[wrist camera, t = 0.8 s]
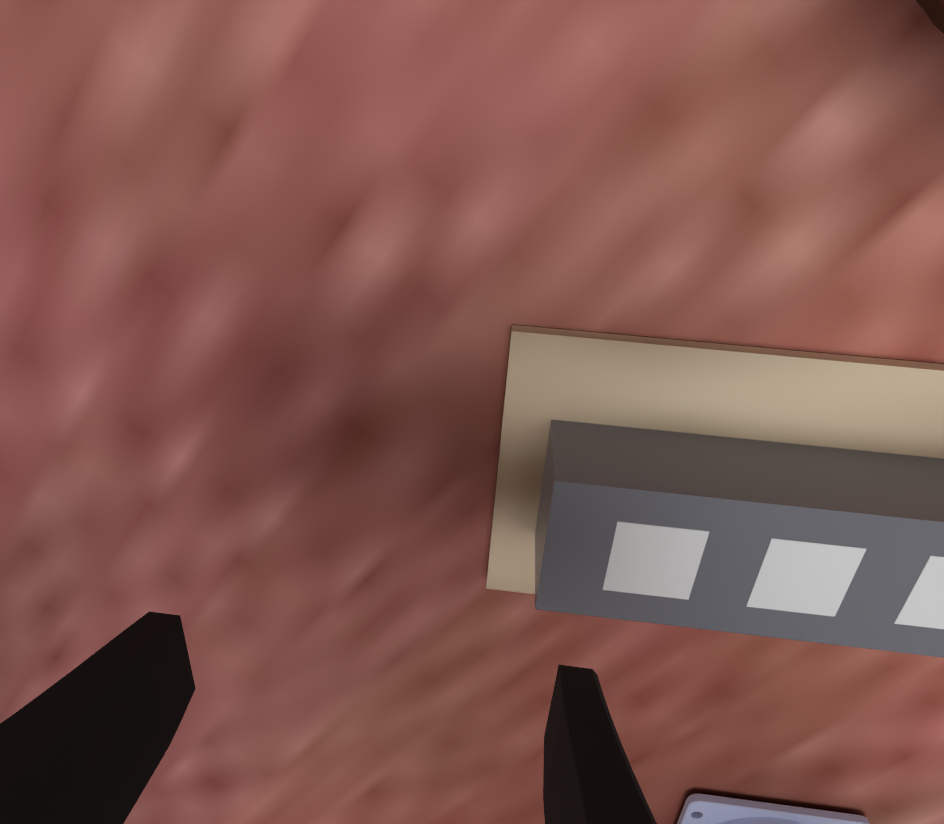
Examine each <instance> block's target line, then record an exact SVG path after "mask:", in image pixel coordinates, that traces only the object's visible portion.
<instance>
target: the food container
mask: <svg viewBox="0 0 944 824" xmlns="http://www.w3.org/2000/svg"><path fill="white" fill-rule="evenodd" d="M917 1H918V3H919V4H920V5H921V7H922V8H923V10H924V11H925V12H926V14H927V15H928V17H929V18H930V19H931V21H932V22H933V24H934V25H935V26H936V27H938V28H939V29H940V30H941V31H942V32H943V33H944V0H917Z"/></svg>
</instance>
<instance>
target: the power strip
mask: <svg viewBox="0 0 944 824" xmlns="http://www.w3.org/2000/svg"><path fill="white" fill-rule="evenodd" d="M535 609H538V610H547V611H555V612H564V613H572V614H581V615H589V616H598V617H606V618H614V619H623V620H631V621H640V622H648V623H657V624H665V625H673V626H682V627H690V628H699V629H707V630H716V631H724V632H733V633H741V634H749V635H758V636H766V637H775V638H783V639H792V640H800V641H808V642H817V643H825V644H834V645H842V646H851V647H859V648H868V649H876V650H884V651H893V652H901V653H910V654H918V655H927V656H935V657H944V459H942V458H932V457H922V456H912V455H902V454H892V453H882V452H872V451H862V450H852V449H842V448H832V447H822V446H812V445H802V444H792V443H782V442H772V441H762V440H752V439H742V438H732V437H722V436H712V435H702V434H692V433H682V432H672V431H662V430H652V429H642V428H632V427H622V426H612V425H602V424H592V423H582V422H572V421H562V420H552V419H551V423H550V430H549V437H548V445H547V452H546V459H545V466H544V473H543V480H542V487H541V494H540V501H539V508H538V515H537V523H536V530H535Z"/></svg>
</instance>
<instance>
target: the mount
mask: <svg viewBox="0 0 944 824" xmlns="http://www.w3.org/2000/svg"><path fill="white" fill-rule="evenodd" d="M551 419H552V420H562V421H572V422H582V423H592V424H602V425H612V426H622V427H632V428H642V429H652V430H662V431H672V432H682V433H692V434H702V435H712V436H722V437H732V438H742V439H752V440H762V441H772V442H782V443H792V444H802V445H812V446H822V447H832V448H842V449H852V450H862V451H872V452H882V453H892V454H902V455H912V456H922V457H932V458H942V459H944V364H937V363H926V362H915V361H904V360H893V359H882V358H871V357H860V356H849V355H838V354H827V353H816V352H805V351H794V350H783V349H773V348H762V347H751V346H740V345H729V344H718V343H707V342H696V341H685V340H674V339H663V338H652V337H641V336H630V335H619V334H608V333H597V332H586V331H575V330H564V329H553V328H542V327H531V326H520V325H512V331H511V341H510V351H509V361H508V371H507V382H506V392H505V402H504V412H503V422H502V432H501V442H500V452H499V463H498V473H497V483H496V493H495V503H494V513H493V523H492V533H491V544H490V554H489V564H488V574H487V584H486V589H494V590H503V591H511V592H520V593H528V594H535V530H536V523H537V515H538V508H539V501H540V494H541V487H542V480H543V473H544V466H545V459H546V452H547V445H548V437H549V430H550V423H551Z"/></svg>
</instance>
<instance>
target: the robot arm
mask: <svg viewBox="0 0 944 824" xmlns="http://www.w3.org/2000/svg"><path fill="white" fill-rule="evenodd" d="M194 691H195V684H194V680H193V675H192V670H191V665H190V661H189V656H188V651H187V646H186V642H185V637H184V632H183V627H182V623H181V618H180V616H179V615H171V614H163V613H156V612H148V613H147V614H146V615H144V616H143V617H142V618H140V619H139V620H138V621H136V622H135V623H134V624H132V625H131V626H130V627H128V628H127V629H126V630H124V631H123V632H122V633H120V634H119V635H118V636H117V637H115V638H114V639H113V640H111V641H110V642H109V643H107V644H106V645H105V646H104V647H102V648H101V649H100V650H98V651H97V652H96V653H95V654H93V655H92V656H91V657H89V658H88V659H87V660H85V661H84V662H83V663H82V664H80V665H79V666H78V667H76V668H75V669H74V670H72V671H71V672H70V673H69V674H67V675H66V676H65V677H63V678H62V679H61V680H59V681H58V682H57V683H55V684H54V685H53V686H51V687H50V688H49V689H47V690H46V691H44V692H43V693H42V694H40V695H39V696H38V697H36V698H35V699H34V700H32V701H31V702H30V703H28V704H27V705H26V706H24V707H23V708H22V709H20V710H19V711H18V712H16V713H15V714H13V715H12V716H11V717H9V718H8V719H6V720H5V721H4V722H2V723H1V724H0V824H123V823H124V821H125V820H126V818H127V816H128V815H129V813H130V811H131V810H132V808H133V806H134V805H135V803H136V801H137V800H138V798H139V796H140V795H141V793H142V791H143V790H144V788H145V786H146V785H147V783H148V781H149V779H150V778H151V776H152V774H153V773H154V771H155V769H156V768H157V766H158V764H159V763H160V761H161V759H162V757H163V756H164V754H165V752H166V750H167V749H168V747H169V745H170V743H171V741H172V739H173V737H174V735H175V733H176V731H177V728H178V726H179V724H180V722H181V720H182V718H183V715H184V713H185V711H186V709H187V706H188V704H189V702H190V700H191V697H192V695H193V693H194ZM543 800H544V814H545V824H657V823H656V821H655V819H654V817H653V815H652V812H651V810H650V808H649V806H648V804H647V802H646V799H645V797H644V795H643V793H642V790H641V788H640V786H639V784H638V781H637V779H636V777H635V775H634V773H633V770H632V768H631V766H630V763H629V761H628V759H627V756H626V754H625V751H624V749H623V747H622V744H621V741H620V739H619V736H618V734H617V731H616V729H615V726H614V724H613V721H612V718H611V715H610V713H609V710H608V707H607V704H606V701H605V698H604V695H603V692H602V689H601V686H600V683H599V680H598V676H597V674H596V673H595V672H594V671H593V669H587V668H579V667H572V666H564V665H559V667H558V672H557V677H556V681H555V686H554V691H553V696H552V701H551V706H550V711H549V716H548V721H547V726H546V731H545V736H544V787H543ZM677 824H870V823H869V821H868V819H867V818H866V817H864V816H861V815H856V814H848V813H841V812H834V811H826V810H819V809H811V808H804V807H796V806H789V805H781V804H774V803H767V802H759V801H752V800H744V799H737V798H729V797H722V796H714V795H707V794H698V793H695V794H692V795H690V796H688V798H687V799H686V801H685V804H684V807H683V809H682V812H681V814H680V817H679V819H678V822H677Z"/></svg>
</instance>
